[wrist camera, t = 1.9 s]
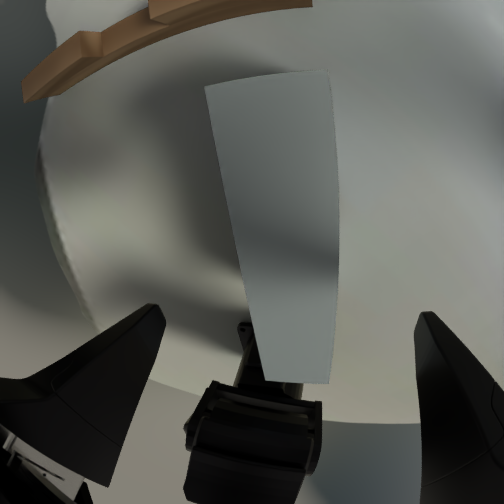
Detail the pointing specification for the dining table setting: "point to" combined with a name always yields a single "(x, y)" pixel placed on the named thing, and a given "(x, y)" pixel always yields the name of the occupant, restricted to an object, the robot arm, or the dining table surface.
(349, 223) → the dining table surface
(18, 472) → the robot arm
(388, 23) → the dining table surface
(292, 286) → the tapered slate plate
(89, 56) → the slotted walnut board
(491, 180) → the dining table surface
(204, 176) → the dining table surface
